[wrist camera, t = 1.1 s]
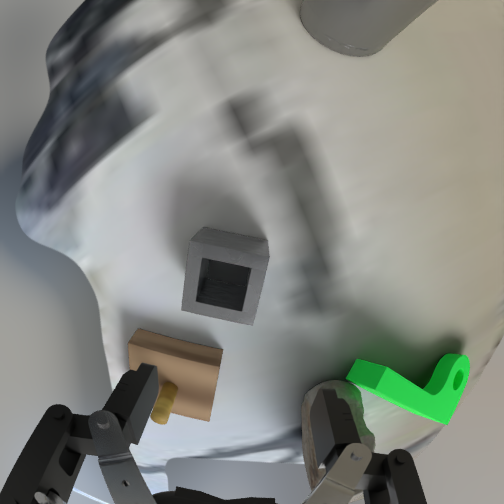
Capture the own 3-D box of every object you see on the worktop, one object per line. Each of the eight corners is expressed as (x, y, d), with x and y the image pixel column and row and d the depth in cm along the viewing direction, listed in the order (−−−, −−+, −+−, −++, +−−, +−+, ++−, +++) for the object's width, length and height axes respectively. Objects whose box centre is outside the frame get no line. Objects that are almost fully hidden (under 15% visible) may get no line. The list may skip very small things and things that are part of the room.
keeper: (138, 328, 28) (108, 371, 21) (223, 349, 28) (212, 402, 21) (140, 386, 31) (119, 428, 23) (212, 405, 31) (203, 452, 24)
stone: (340, 444, 34) (355, 518, 20) (297, 450, 35) (304, 527, 20) (358, 365, 29) (398, 465, 15) (300, 373, 29) (317, 484, 15)
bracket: (439, 359, 34) (473, 364, 27) (414, 413, 31) (447, 425, 24) (372, 301, 31) (416, 301, 24) (335, 373, 28) (376, 390, 21)
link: (203, 227, 25) (189, 240, 20) (267, 240, 25) (269, 257, 20) (194, 286, 26) (181, 310, 22) (254, 298, 27) (252, 325, 22)
